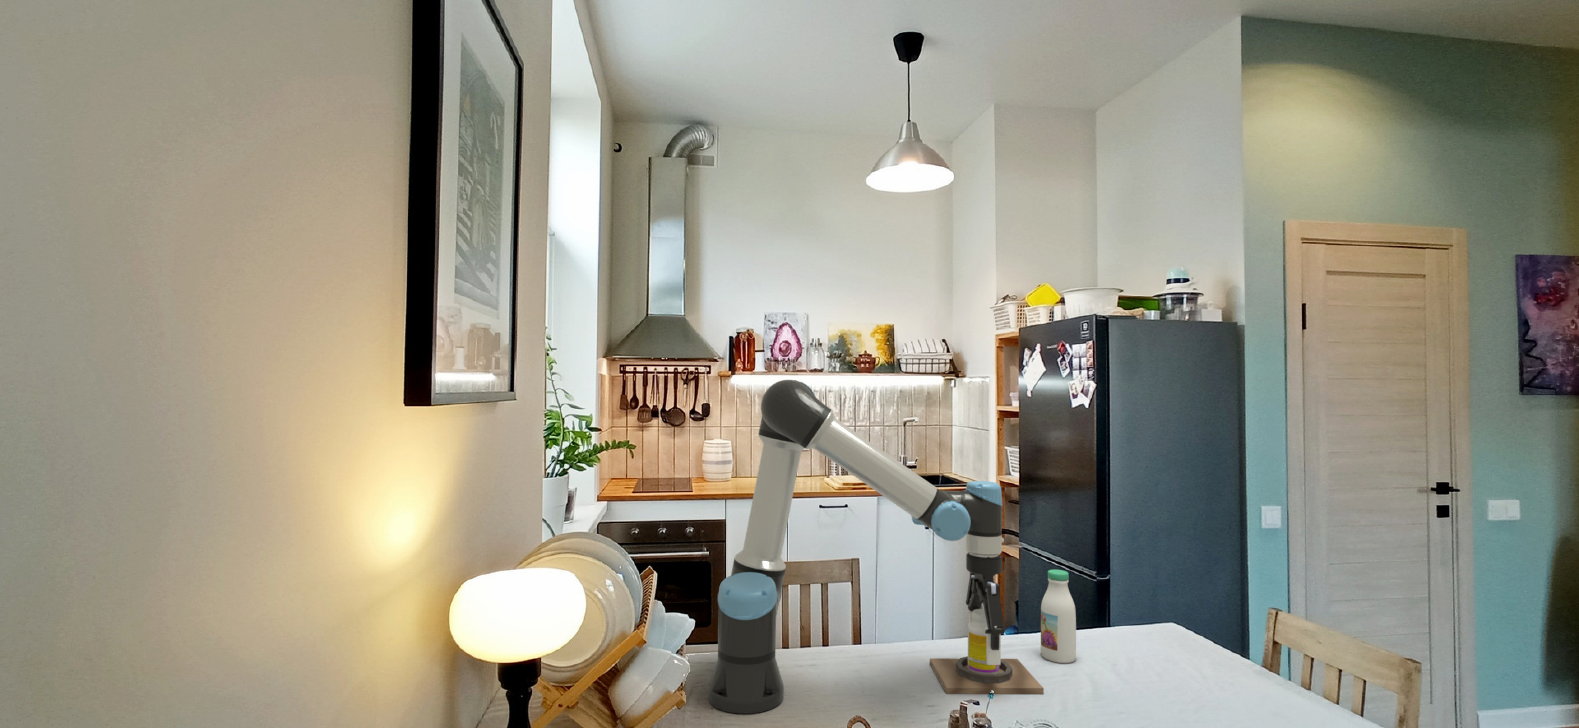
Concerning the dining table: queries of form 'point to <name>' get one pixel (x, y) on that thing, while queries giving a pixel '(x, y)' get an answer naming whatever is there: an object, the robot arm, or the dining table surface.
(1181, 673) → the dining table surface
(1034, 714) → the dining table surface
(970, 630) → the supplement bottle
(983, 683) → the socket board
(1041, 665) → the dining table surface
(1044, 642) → the milk bottle
